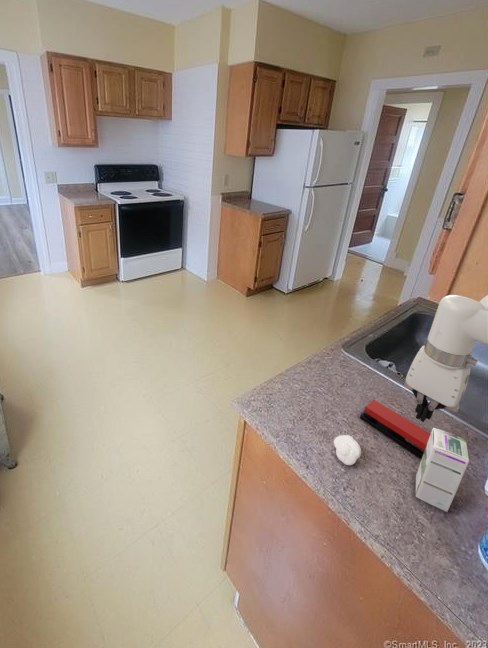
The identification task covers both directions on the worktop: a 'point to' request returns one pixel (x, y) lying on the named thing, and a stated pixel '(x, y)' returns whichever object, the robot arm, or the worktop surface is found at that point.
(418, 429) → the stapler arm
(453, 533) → the worktop surface
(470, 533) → the worktop surface
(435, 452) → the syrup box
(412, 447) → the stapler base
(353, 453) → the dumpling
